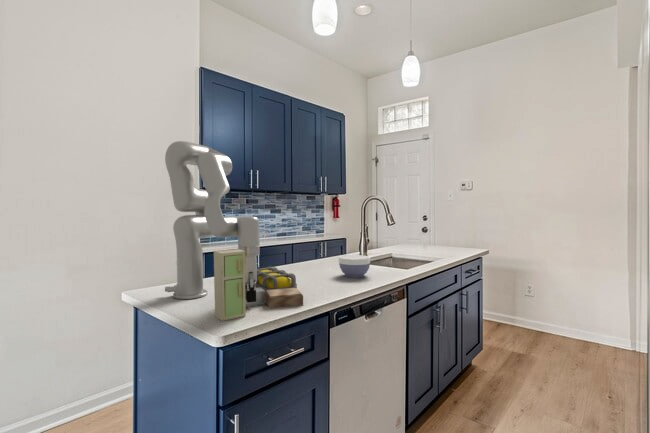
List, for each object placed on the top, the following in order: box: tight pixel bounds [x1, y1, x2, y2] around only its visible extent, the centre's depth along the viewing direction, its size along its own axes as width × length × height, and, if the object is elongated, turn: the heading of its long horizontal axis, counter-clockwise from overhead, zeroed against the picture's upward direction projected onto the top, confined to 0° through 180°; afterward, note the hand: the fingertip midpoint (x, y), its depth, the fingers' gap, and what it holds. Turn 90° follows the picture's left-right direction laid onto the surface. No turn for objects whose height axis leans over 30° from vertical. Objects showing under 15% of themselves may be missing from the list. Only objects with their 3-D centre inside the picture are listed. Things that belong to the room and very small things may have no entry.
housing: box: [245, 287, 267, 308], centre depth 125 cm, size 11×7×5 cm, turn 116°
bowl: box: [338, 254, 371, 279], centre depth 174 cm, size 16×16×10 cm
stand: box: [265, 288, 304, 309], centre depth 126 cm, size 12×10×4 cm
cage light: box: [255, 266, 298, 292], centre depth 146 cm, size 15×8×30 cm
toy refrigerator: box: [213, 248, 247, 322], centre depth 110 cm, size 8×7×21 cm
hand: (250, 298), depth 125 cm, fingers open, 9 cm apart
